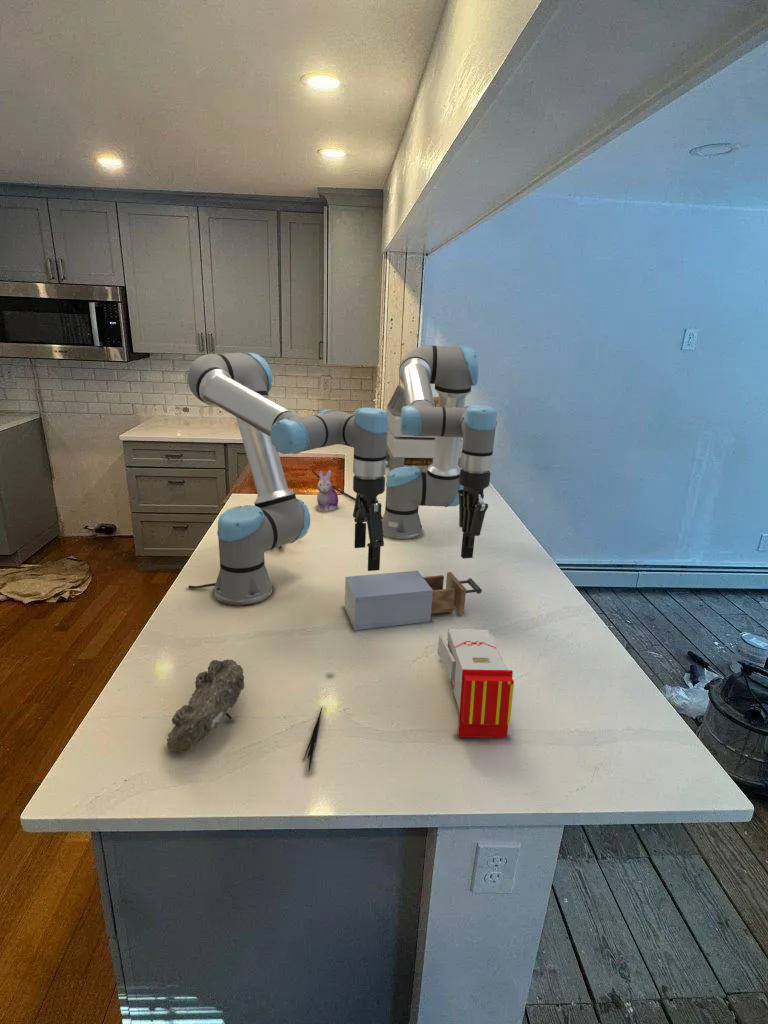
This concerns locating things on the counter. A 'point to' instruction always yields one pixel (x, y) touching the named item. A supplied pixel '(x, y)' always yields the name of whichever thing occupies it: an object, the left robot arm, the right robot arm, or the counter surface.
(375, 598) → the cabinet
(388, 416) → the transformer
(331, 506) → the figurine
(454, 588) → the drawer
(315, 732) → the feather
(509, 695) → the toy
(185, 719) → the fossil
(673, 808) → the counter surface
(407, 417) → the right robot arm
